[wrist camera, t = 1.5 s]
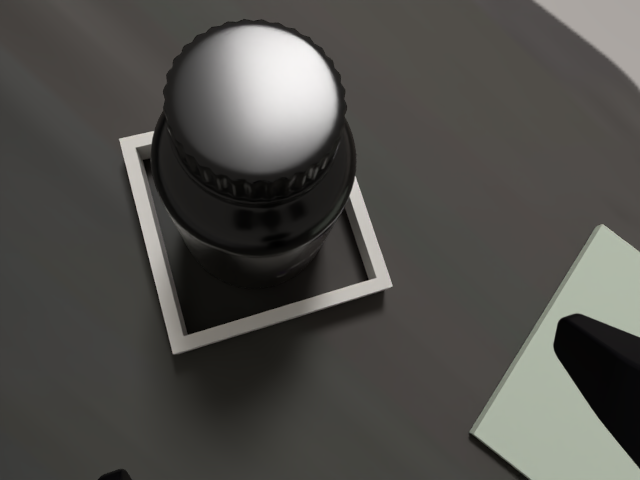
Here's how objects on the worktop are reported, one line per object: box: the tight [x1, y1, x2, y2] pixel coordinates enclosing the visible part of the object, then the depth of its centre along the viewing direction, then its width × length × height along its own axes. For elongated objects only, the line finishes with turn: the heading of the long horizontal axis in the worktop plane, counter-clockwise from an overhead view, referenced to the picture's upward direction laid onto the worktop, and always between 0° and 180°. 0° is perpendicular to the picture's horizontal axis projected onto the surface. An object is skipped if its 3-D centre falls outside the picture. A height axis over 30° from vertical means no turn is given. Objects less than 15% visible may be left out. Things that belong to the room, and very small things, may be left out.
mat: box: [469, 224, 640, 480], centre depth 24 cm, size 13×10×1 cm
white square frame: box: [119, 131, 393, 354], centre depth 23 cm, size 10×10×2 cm
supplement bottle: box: [151, 19, 356, 289], centre depth 18 cm, size 7×7×12 cm
